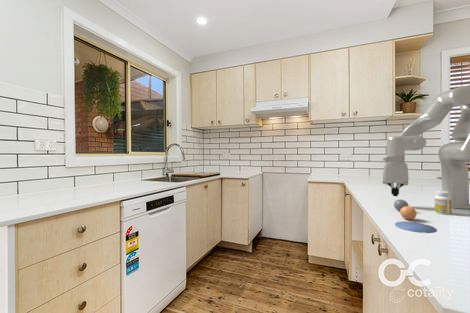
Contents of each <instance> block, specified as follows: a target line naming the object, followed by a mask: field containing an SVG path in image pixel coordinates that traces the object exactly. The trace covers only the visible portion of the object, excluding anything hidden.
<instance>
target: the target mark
mask: <svg viewBox="0 0 470 313" xmlns="http://www.w3.org/2000/svg"><path fill="white" fill-rule="evenodd" d="M425 224H426V223H421V222H416V221H404V220H403V221H397V222H395V223H394V225H395V227H397V228H399V229H402V230H405V231H409V232H414V233H422V232H426V233H427V234H428V233H435V232H437V228H436V227H434V226H432V225H429V224H426V225H425Z"/></svg>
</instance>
